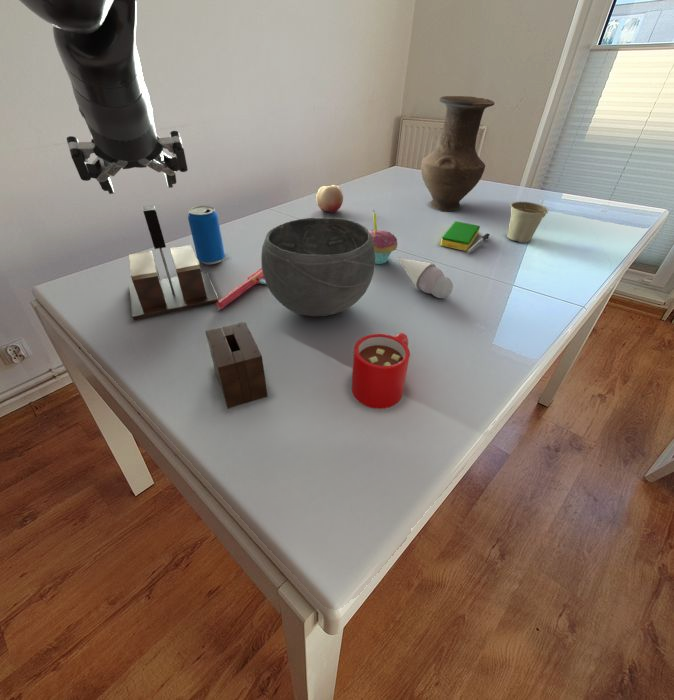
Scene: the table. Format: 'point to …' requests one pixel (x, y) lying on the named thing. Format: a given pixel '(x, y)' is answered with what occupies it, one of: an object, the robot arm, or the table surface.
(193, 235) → the beverage can
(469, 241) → the dish sponge
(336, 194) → the fruit
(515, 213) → the flower pot
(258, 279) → the pink plastic rod
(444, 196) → the vase
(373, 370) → the mug
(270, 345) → the table surface
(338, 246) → the bowl
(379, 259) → the cupcake
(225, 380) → the knife block
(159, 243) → the black block with pin
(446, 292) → the ice cream cone
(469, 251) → the knife
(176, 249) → the slotted block
